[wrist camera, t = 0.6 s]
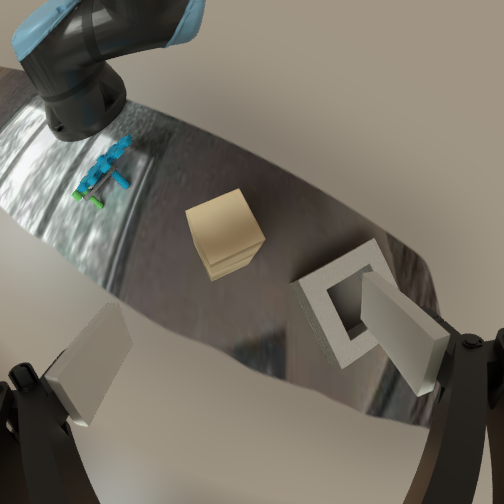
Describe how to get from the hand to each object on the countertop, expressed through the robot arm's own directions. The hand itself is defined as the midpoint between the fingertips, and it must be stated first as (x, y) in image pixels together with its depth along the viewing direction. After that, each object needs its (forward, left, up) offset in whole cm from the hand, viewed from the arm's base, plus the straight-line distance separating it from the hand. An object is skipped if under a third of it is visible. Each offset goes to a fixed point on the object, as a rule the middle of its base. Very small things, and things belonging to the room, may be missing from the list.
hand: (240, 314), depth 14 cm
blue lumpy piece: (-24, -7, -20) cm, 32 cm away
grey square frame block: (+6, +15, -20) cm, 25 cm away
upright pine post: (-7, +3, -20) cm, 21 cm away
